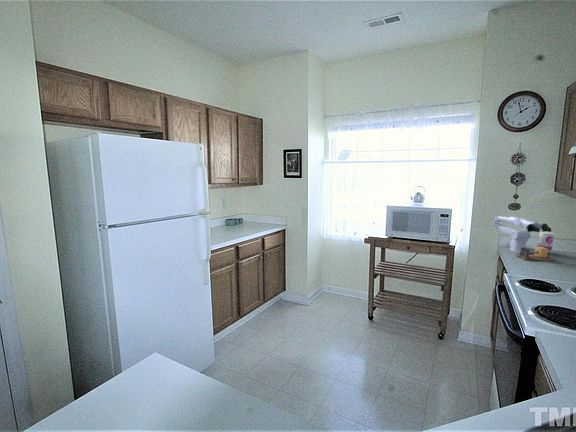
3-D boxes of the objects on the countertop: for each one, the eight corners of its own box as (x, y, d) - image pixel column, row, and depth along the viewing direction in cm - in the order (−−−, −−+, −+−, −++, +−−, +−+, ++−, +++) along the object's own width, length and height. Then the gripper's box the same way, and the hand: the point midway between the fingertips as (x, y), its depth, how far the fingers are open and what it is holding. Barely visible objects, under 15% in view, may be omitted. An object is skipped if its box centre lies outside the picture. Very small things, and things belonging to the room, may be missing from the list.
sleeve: (534, 254, 214) (535, 246, 213) (540, 255, 214) (542, 246, 213) (540, 257, 209) (541, 248, 208) (546, 257, 208) (548, 248, 207)
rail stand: (515, 256, 217) (517, 246, 216) (543, 257, 216) (545, 247, 215) (526, 260, 207) (527, 250, 206) (555, 261, 206) (557, 251, 205)
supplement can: (553, 254, 224) (557, 234, 221) (542, 254, 224) (545, 233, 221) (544, 251, 232) (548, 231, 229) (533, 250, 232) (536, 231, 229)
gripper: (520, 219, 218) (535, 224, 205) (540, 219, 218) (557, 224, 205) (518, 229, 219) (533, 234, 206) (539, 229, 219) (555, 234, 206)
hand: (545, 230), depth 205 cm, fingers open, 7 cm apart
